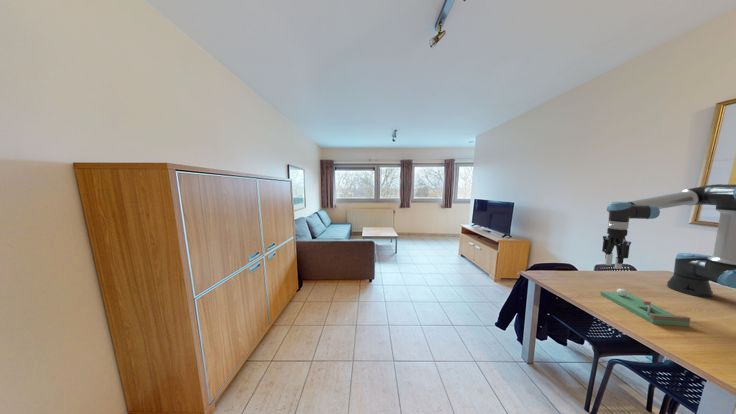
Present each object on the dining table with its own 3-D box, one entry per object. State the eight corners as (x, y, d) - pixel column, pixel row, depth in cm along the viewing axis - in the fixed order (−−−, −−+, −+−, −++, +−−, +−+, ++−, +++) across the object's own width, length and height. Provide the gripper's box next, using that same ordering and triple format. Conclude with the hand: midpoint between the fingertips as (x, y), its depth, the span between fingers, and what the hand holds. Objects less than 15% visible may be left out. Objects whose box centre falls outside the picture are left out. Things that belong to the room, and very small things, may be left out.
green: (628, 296, 121) (630, 281, 120) (689, 326, 95) (692, 308, 94) (598, 294, 123) (600, 280, 122) (650, 323, 97) (652, 305, 96)
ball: (622, 294, 119) (622, 287, 119) (629, 297, 115) (630, 291, 115) (614, 293, 120) (614, 287, 119) (621, 297, 116) (622, 290, 115)
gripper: (595, 225, 129) (592, 260, 132) (626, 231, 112) (621, 272, 114) (609, 225, 128) (605, 261, 130) (643, 232, 110) (637, 273, 113)
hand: (613, 266), depth 122 cm, fingers open, 5 cm apart
